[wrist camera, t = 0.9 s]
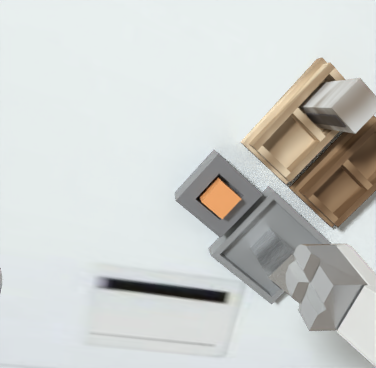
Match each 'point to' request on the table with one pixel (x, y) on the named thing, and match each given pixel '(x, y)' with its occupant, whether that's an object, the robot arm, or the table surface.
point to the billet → (274, 257)
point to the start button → (219, 197)
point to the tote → (252, 230)
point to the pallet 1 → (309, 119)
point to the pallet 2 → (341, 176)
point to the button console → (202, 179)
